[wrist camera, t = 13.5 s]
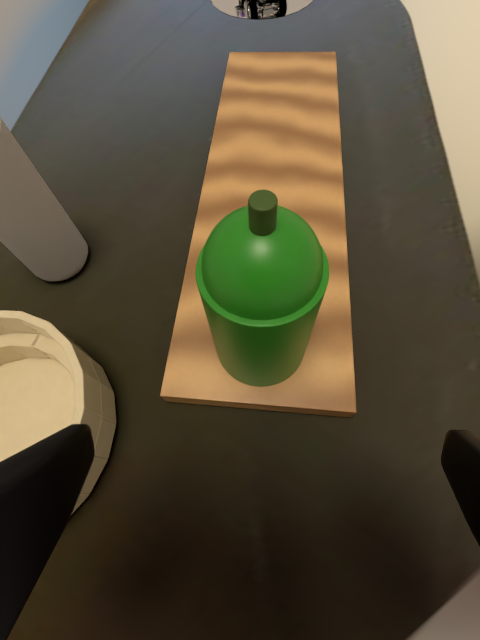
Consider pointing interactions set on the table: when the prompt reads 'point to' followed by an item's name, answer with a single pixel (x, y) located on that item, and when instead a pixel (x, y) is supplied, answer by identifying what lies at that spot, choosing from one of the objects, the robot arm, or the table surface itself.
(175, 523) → the table surface
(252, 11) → the grey wheeled model
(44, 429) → the bowl
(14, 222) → the beverage can
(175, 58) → the table surface
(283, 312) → the green spray can
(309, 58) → the cutting board
